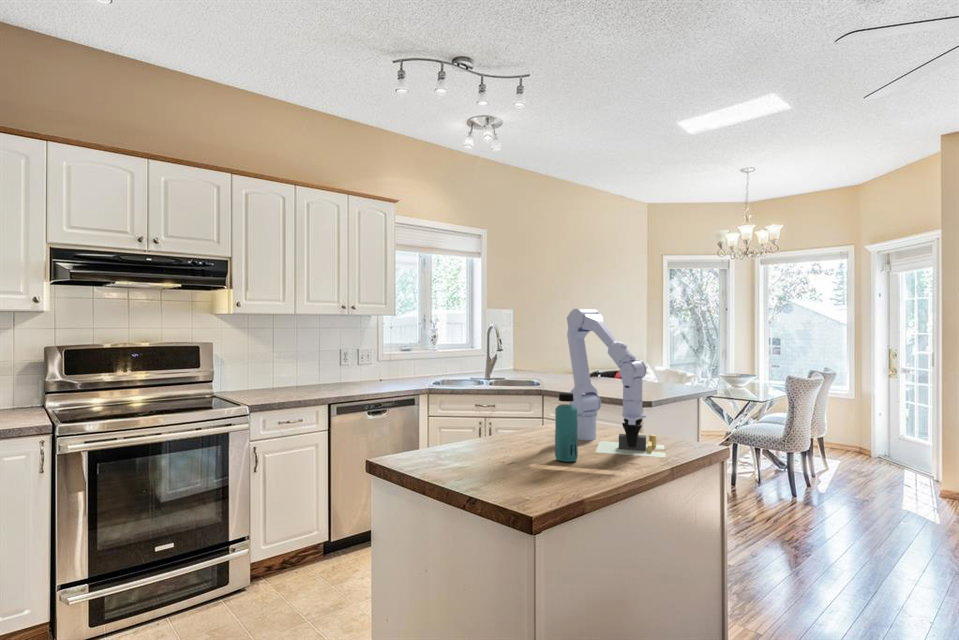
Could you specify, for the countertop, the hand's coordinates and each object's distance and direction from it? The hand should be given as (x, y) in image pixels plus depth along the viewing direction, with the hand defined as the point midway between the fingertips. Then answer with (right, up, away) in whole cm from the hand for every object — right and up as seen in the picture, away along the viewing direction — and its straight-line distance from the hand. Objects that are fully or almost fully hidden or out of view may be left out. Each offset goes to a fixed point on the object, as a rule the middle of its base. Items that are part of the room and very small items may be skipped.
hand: (632, 444), depth 170 cm
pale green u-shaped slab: (0, -2, 0) cm, 2 cm away
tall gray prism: (0, -1, 0) cm, 1 cm away
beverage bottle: (-22, -3, -14) cm, 27 cm away
